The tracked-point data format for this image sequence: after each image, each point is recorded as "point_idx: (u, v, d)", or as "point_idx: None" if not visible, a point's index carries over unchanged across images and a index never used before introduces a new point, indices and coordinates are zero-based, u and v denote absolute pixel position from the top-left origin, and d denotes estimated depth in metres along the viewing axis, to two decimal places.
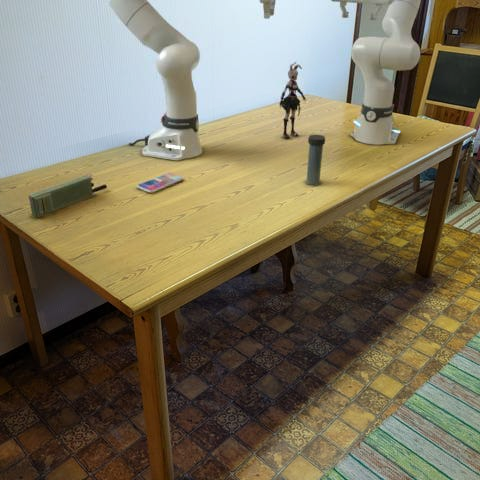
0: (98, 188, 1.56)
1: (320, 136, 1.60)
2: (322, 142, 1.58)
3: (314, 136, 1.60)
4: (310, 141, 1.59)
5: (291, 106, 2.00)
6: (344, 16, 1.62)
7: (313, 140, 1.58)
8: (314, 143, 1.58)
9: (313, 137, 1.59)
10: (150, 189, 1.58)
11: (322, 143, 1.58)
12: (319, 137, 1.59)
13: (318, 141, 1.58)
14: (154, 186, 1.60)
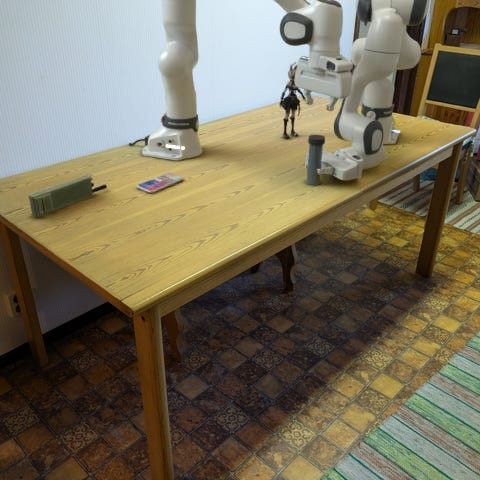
0: (98, 188, 1.56)
1: (320, 136, 1.60)
2: (322, 142, 1.58)
3: (314, 136, 1.60)
4: (310, 141, 1.59)
5: (291, 106, 2.00)
6: None
7: (313, 140, 1.58)
8: (314, 143, 1.58)
9: (313, 137, 1.59)
10: (150, 189, 1.58)
11: (322, 143, 1.58)
12: (319, 137, 1.59)
13: (318, 141, 1.58)
14: (154, 186, 1.60)
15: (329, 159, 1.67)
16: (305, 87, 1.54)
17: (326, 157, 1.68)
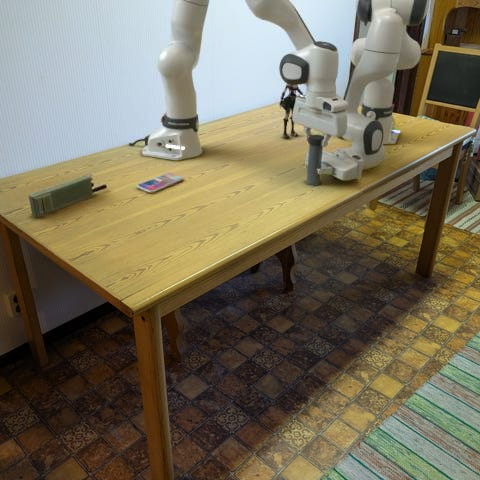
0: (98, 188, 1.56)
1: (320, 136, 1.60)
2: None
3: (314, 136, 1.60)
4: (310, 141, 1.59)
5: (291, 106, 2.00)
6: None
7: (313, 140, 1.58)
8: (314, 143, 1.58)
9: (313, 137, 1.59)
10: (150, 189, 1.58)
11: None
12: (319, 137, 1.59)
13: (318, 141, 1.58)
14: (154, 186, 1.60)
15: (329, 159, 1.67)
16: (302, 124, 1.60)
17: (326, 157, 1.68)
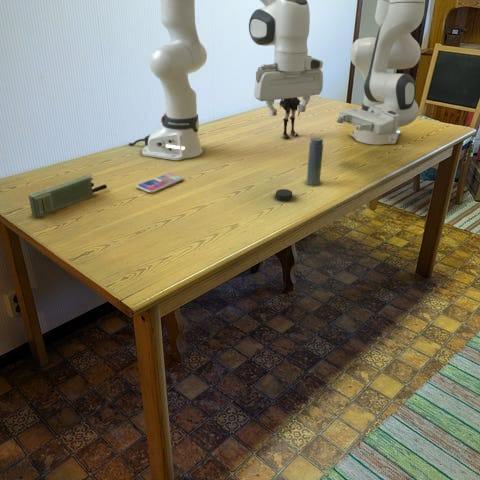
0: (98, 188, 1.56)
1: (279, 191, 1.56)
2: None
3: (283, 193, 1.54)
4: (291, 197, 1.55)
5: (291, 106, 2.00)
6: (358, 130, 1.61)
7: None
8: None
9: (287, 193, 1.55)
10: (150, 189, 1.58)
11: None
12: (283, 191, 1.56)
13: None
14: (154, 186, 1.60)
15: (364, 115, 1.67)
16: (276, 97, 1.37)
17: (361, 113, 1.68)
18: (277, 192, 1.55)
